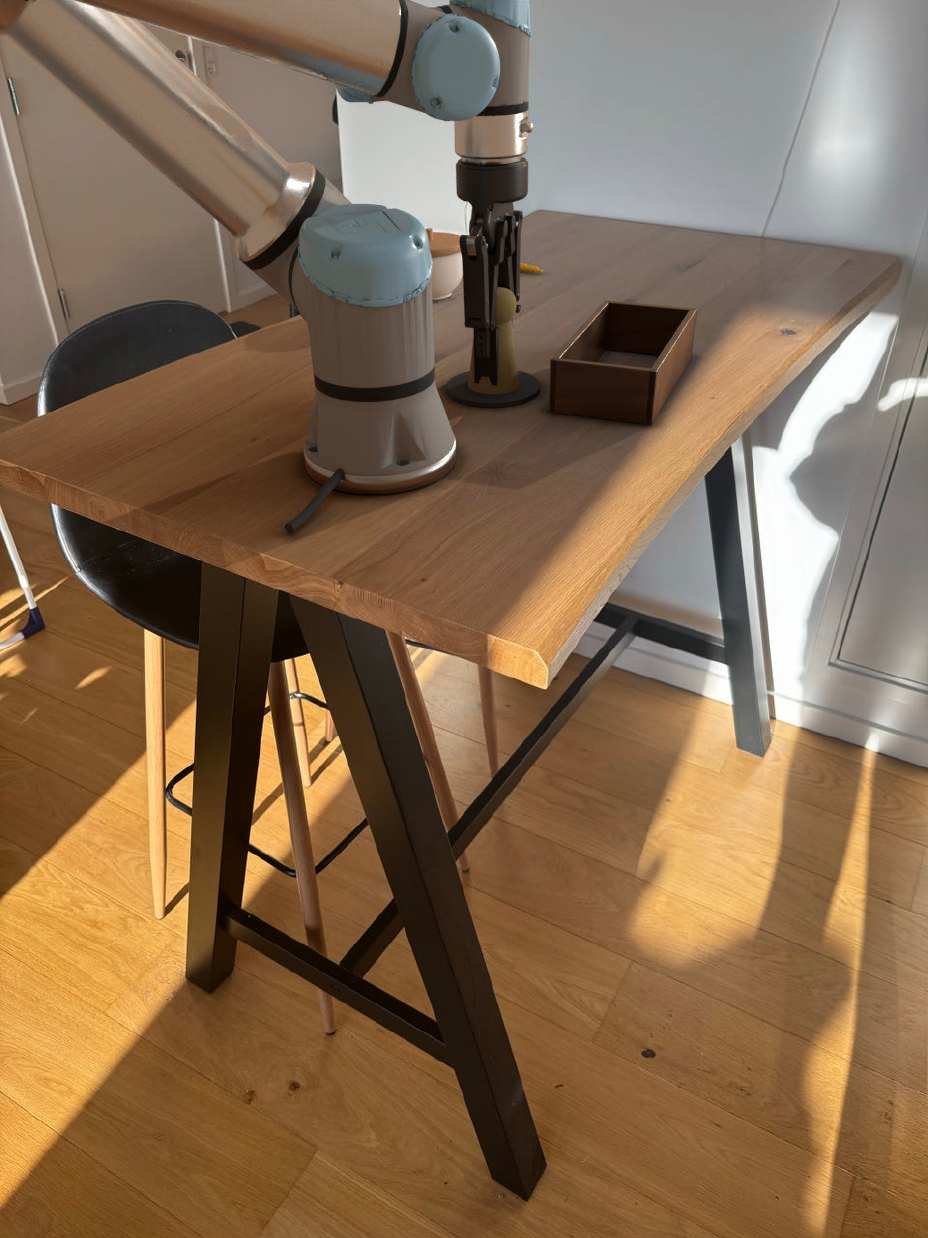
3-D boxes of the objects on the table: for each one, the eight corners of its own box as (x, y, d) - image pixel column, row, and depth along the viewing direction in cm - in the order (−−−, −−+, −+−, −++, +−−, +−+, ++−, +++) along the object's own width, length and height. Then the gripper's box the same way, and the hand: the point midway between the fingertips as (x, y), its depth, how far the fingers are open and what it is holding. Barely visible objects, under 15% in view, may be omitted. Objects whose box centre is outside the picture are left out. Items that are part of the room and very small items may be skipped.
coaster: (522, 412, 109) (522, 407, 109) (431, 400, 113) (431, 395, 112) (552, 378, 118) (552, 373, 117) (466, 368, 121) (466, 363, 121)
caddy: (651, 425, 106) (656, 371, 102) (548, 411, 109) (550, 359, 106) (691, 356, 123) (697, 308, 119) (601, 346, 126) (604, 299, 123)
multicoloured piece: (458, 259, 162) (539, 274, 154) (459, 251, 162) (540, 266, 154) (468, 259, 164) (548, 274, 156) (469, 252, 164) (549, 267, 156)
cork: (491, 398, 111) (491, 300, 105) (457, 384, 115) (454, 289, 109) (530, 384, 114) (531, 289, 108) (495, 371, 118) (495, 278, 112)
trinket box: (442, 308, 141) (440, 240, 136) (381, 298, 146) (377, 232, 140) (480, 289, 149) (479, 224, 143) (421, 280, 153) (418, 217, 148)
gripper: (497, 174, 93) (498, 407, 107) (551, 144, 106) (546, 355, 120) (425, 170, 96) (435, 398, 109) (486, 142, 109) (489, 348, 122)
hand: (493, 375), depth 114 cm, fingers closed on cork, 4 cm apart
